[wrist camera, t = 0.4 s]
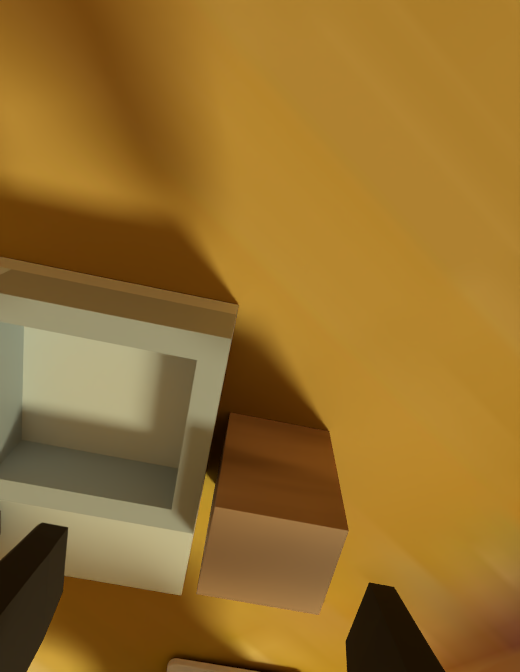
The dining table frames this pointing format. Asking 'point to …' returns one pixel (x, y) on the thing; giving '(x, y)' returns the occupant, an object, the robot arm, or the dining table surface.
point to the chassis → (107, 418)
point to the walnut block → (274, 517)
